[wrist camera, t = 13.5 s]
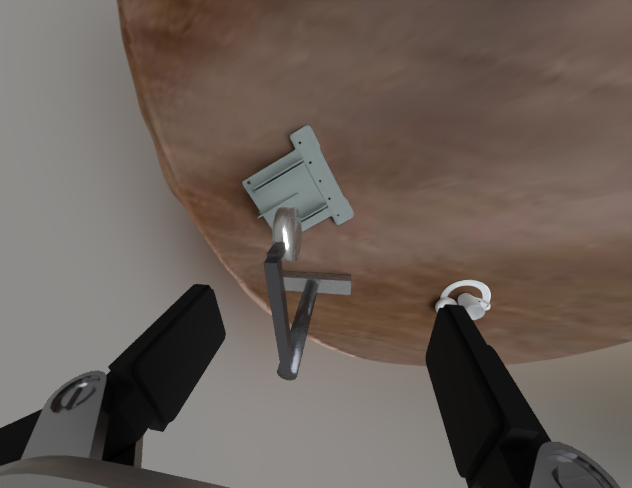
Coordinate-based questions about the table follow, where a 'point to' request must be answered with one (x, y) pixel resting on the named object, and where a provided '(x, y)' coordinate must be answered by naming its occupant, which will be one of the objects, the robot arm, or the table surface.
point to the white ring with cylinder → (467, 299)
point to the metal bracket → (299, 185)
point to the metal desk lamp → (294, 289)
